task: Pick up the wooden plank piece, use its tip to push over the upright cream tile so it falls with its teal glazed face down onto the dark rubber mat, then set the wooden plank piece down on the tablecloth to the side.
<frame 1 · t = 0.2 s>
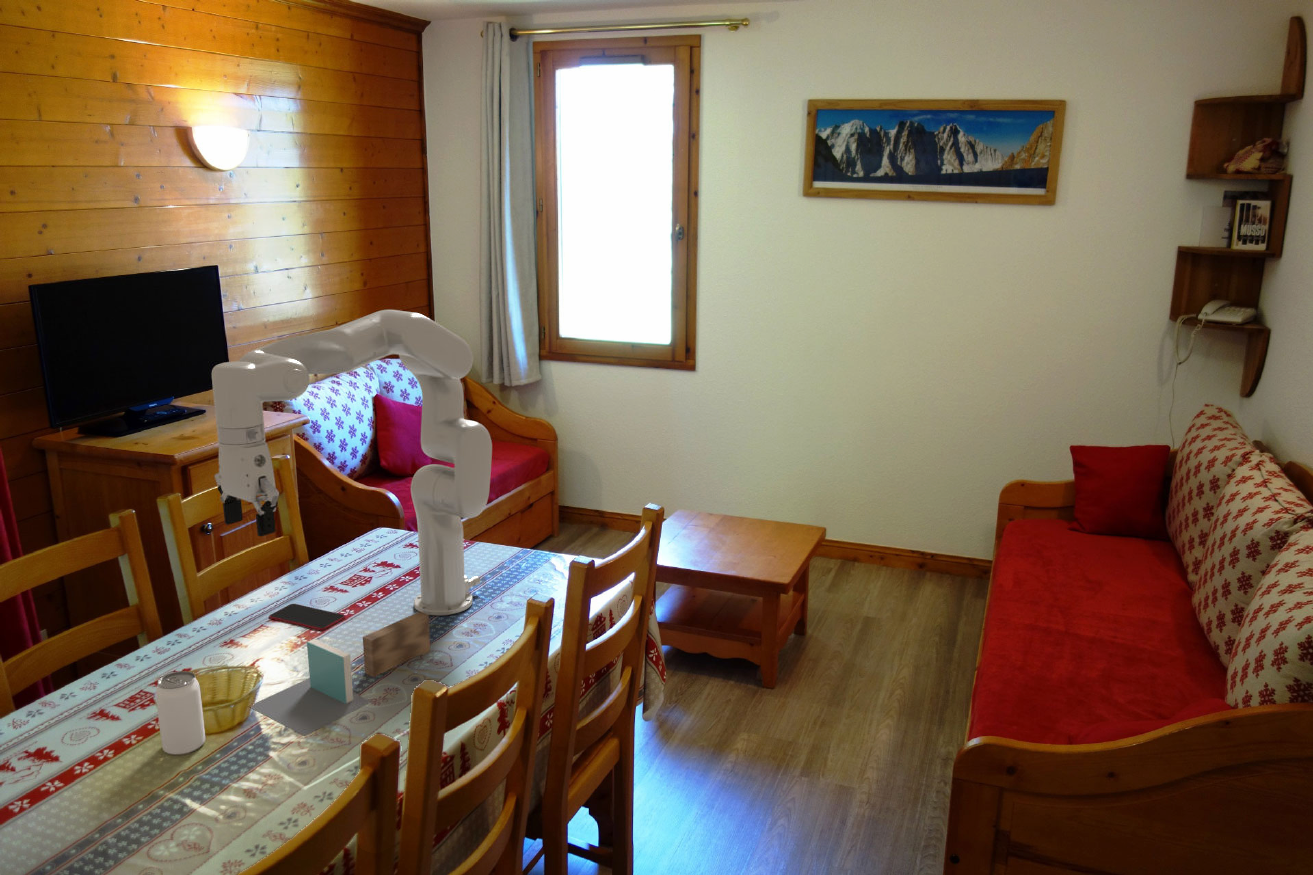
hand: (250, 528, 174), 31 cm above the table, tool pointing down, fingers open, 9 cm apart
can: (184, 746, 163), on the table
wooden plank piece: (398, 663, 191), on the table
mat: (310, 705, 175), on the table
tile: (331, 693, 179), resting on mat
smartphone: (307, 620, 210), on the table
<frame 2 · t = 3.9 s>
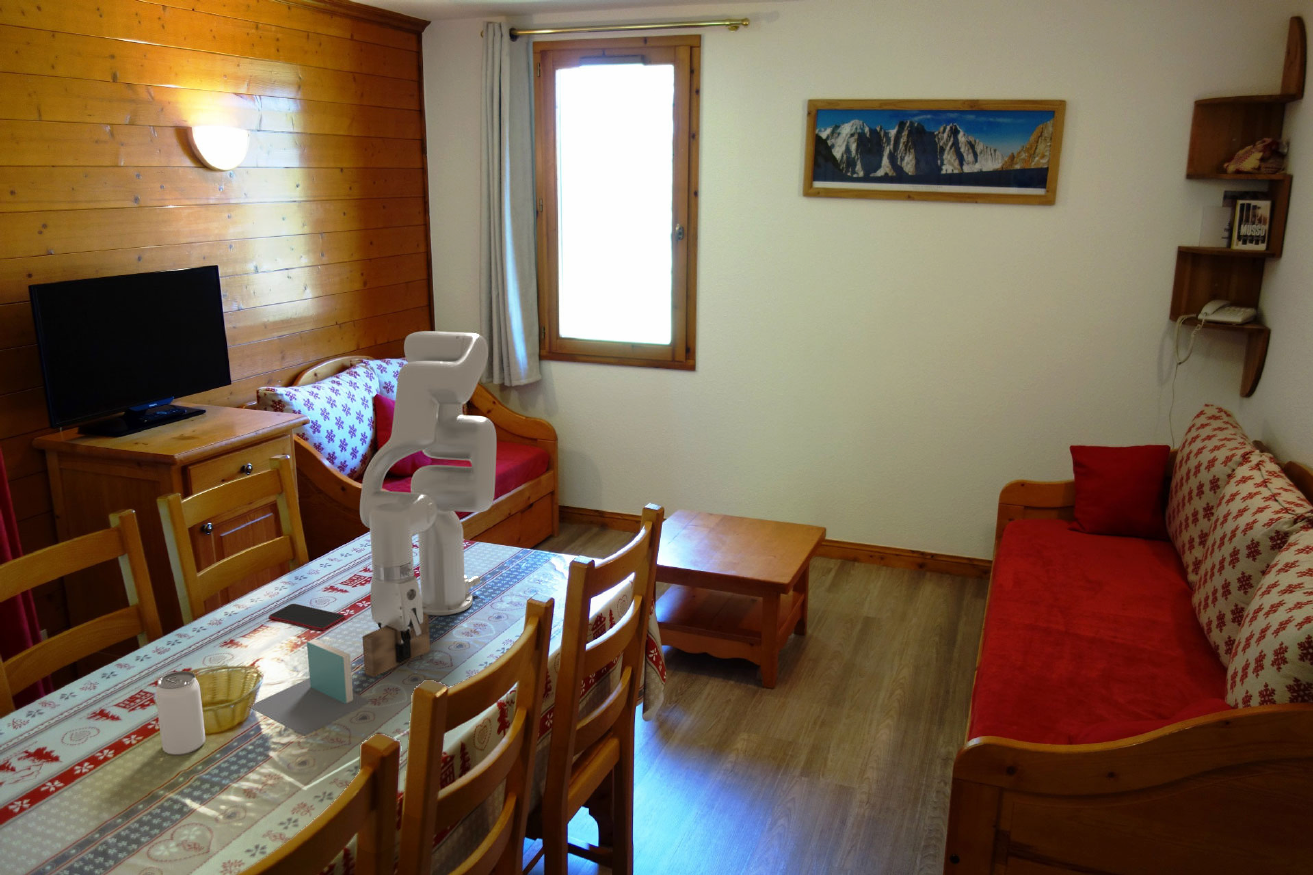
hand: (398, 657, 191), 1 cm above the table, tool pointing down, fingers closed on wooden plank piece, 2 cm apart
wooden plank piece: (398, 662, 191), on the table, touching gripper
everything else where it was.
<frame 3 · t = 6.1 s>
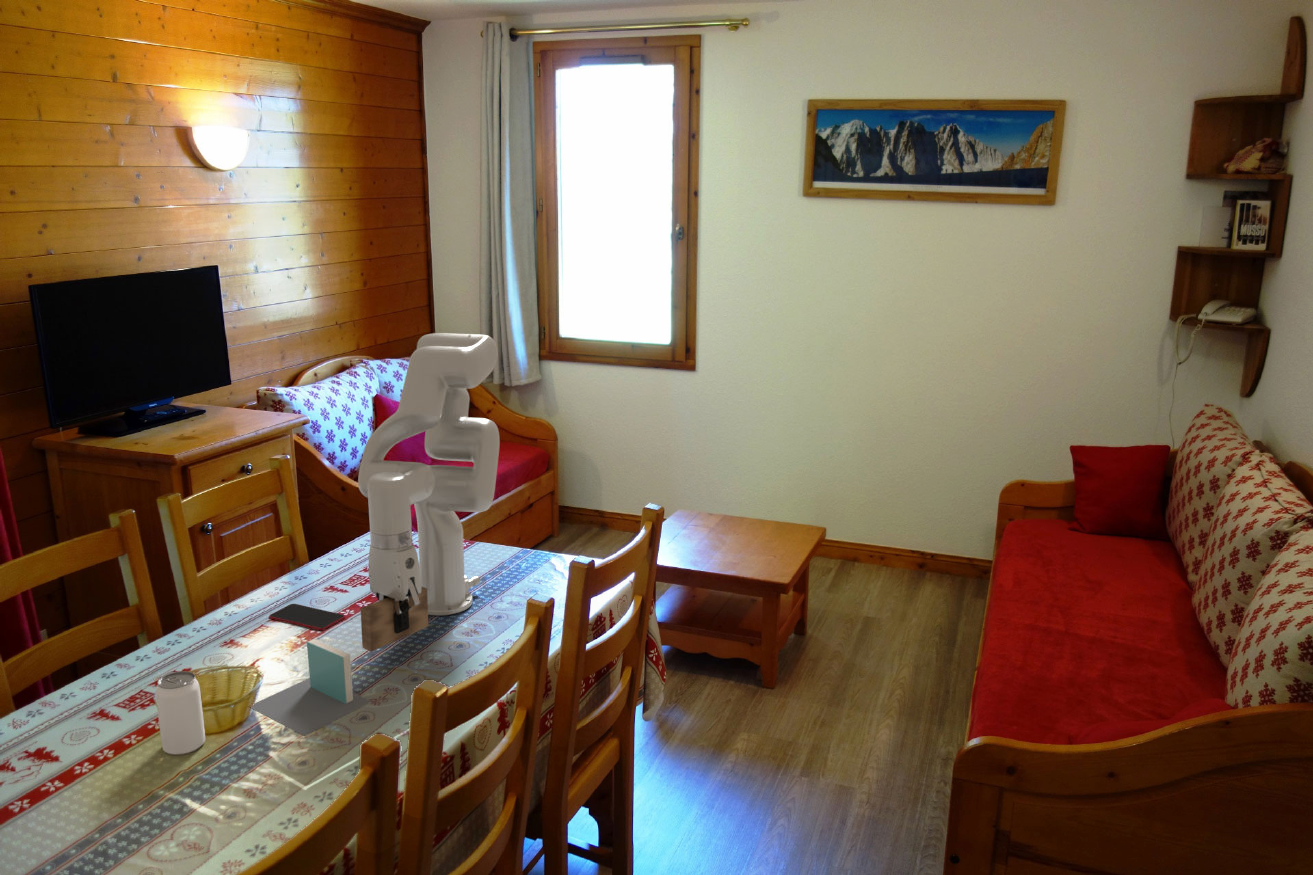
hand: (396, 627, 189), 7 cm above the table, tool pointing down, fingers closed on wooden plank piece, 2 cm apart
wooden plank piece: (396, 636, 190), point 6 cm above the table, touching gripper
everything else where it was.
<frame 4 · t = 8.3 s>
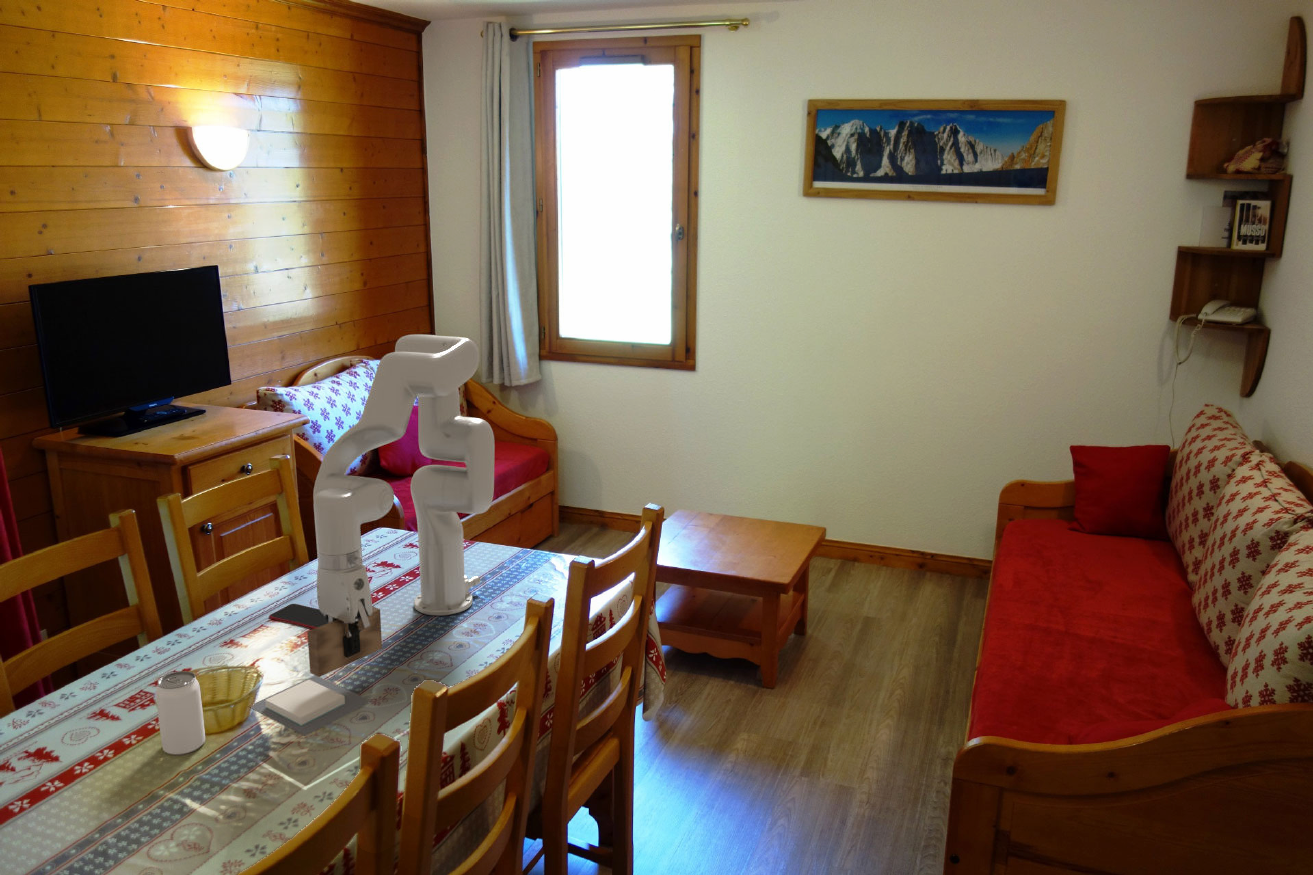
hand: (346, 651, 180), 7 cm above the table, tool pointing down, fingers closed on wooden plank piece, 2 cm apart
wooden plank piece: (347, 660, 181), point 5 cm above the table, touching gripper
tile: (326, 691, 178), point 1 cm above the table, tilted 90°, touching mat
everything else where it was.
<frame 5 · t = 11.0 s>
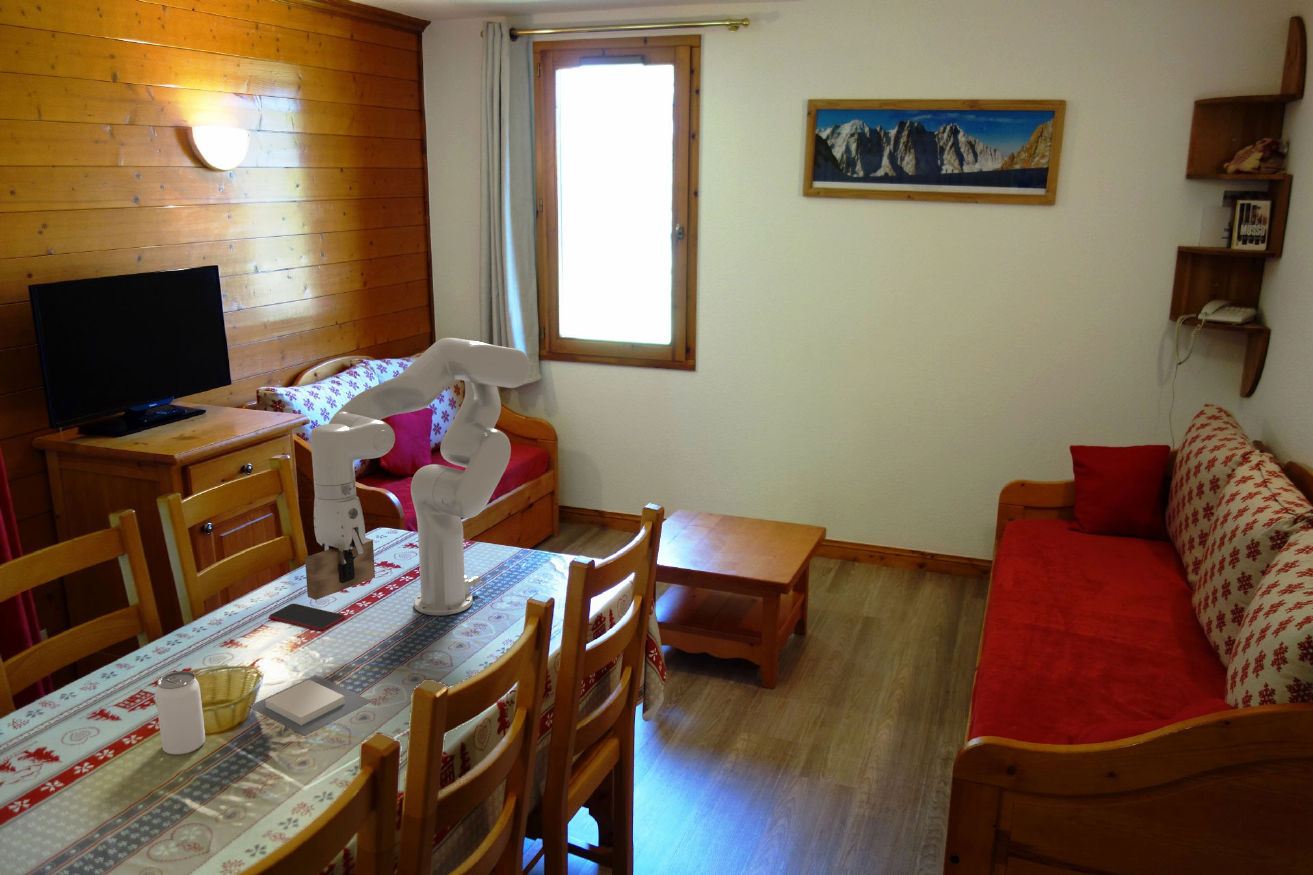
hand: (341, 578, 193), 15 cm above the table, tool pointing down, fingers closed on wooden plank piece, 2 cm apart
wooden plank piece: (342, 586, 193), point 13 cm above the table, touching gripper
everything else where it was.
when the fingers open (3 cm above the table, at t = 13.5 s): wooden plank piece stays where it is, on the table.
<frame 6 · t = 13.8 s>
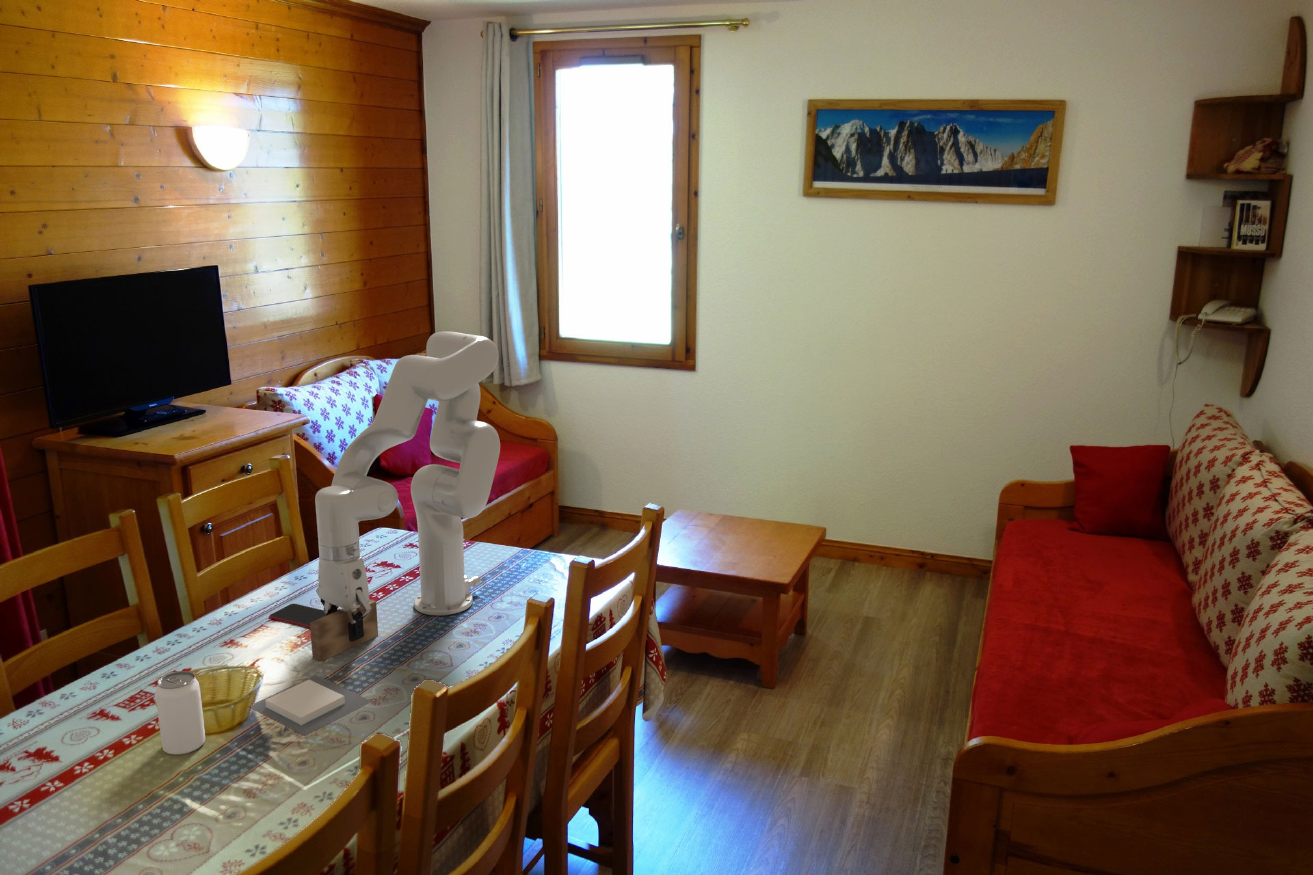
hand: (345, 633, 196), 3 cm above the table, tool pointing down, fingers open, 6 cm apart
wooden plank piece: (346, 648, 197), on the table
everything else where it was.
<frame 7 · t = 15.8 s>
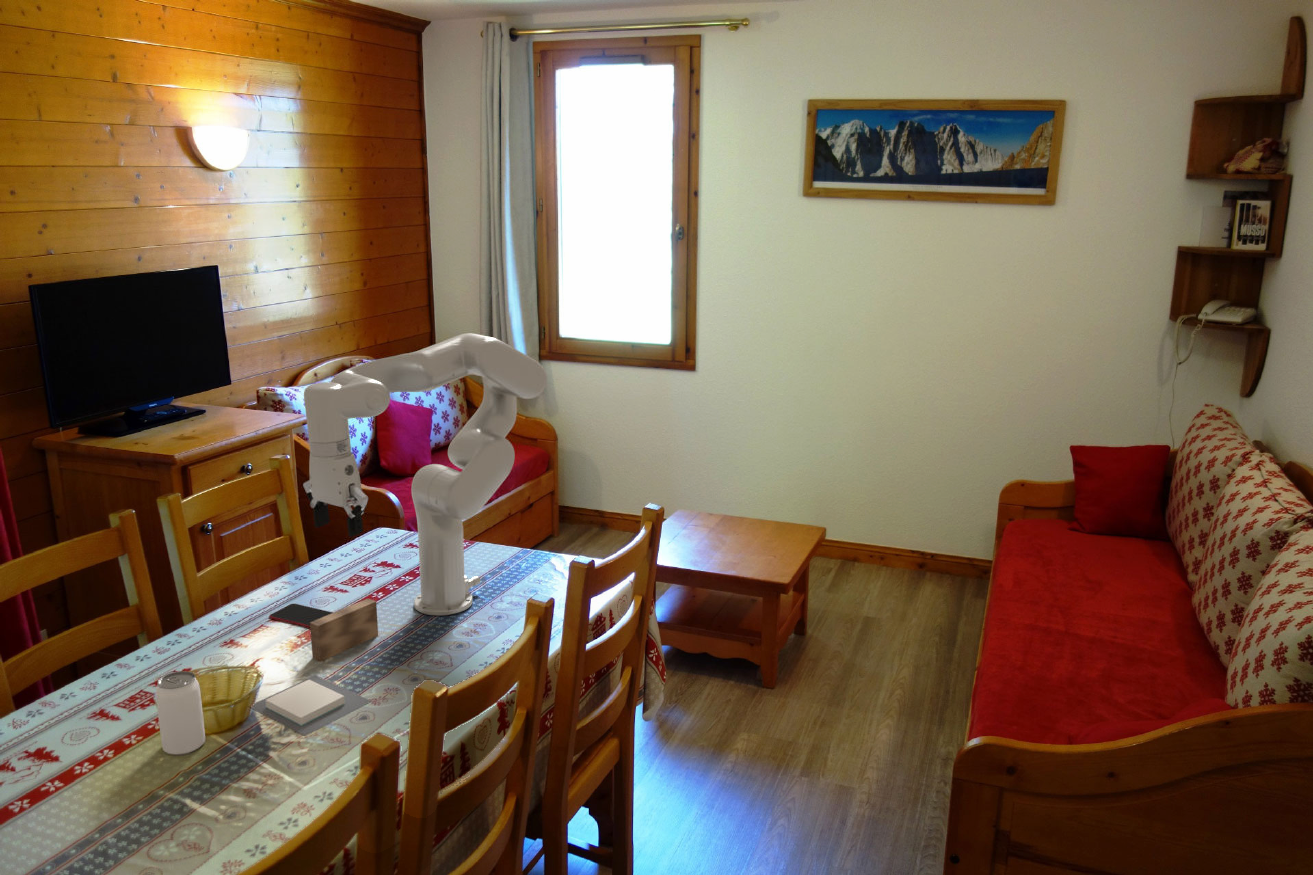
hand: (339, 529, 195), 23 cm above the table, tool pointing down, fingers open, 9 cm apart
nothing on the table moved.
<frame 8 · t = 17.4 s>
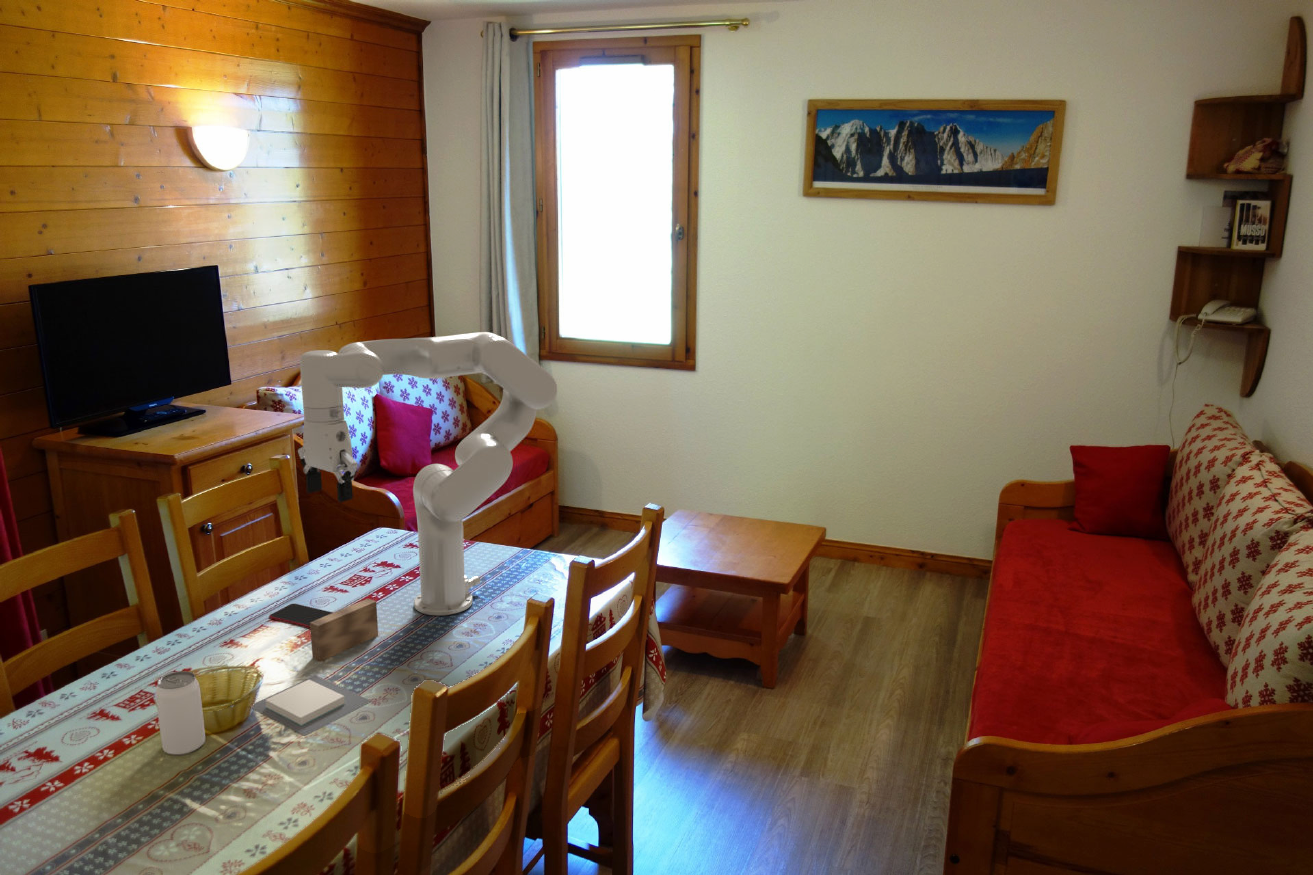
hand: (329, 495, 200), 28 cm above the table, tool pointing down, fingers open, 9 cm apart
nothing on the table moved.
at the end: tile tilted 90°; tile touching mat; wooden plank piece touching table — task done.
